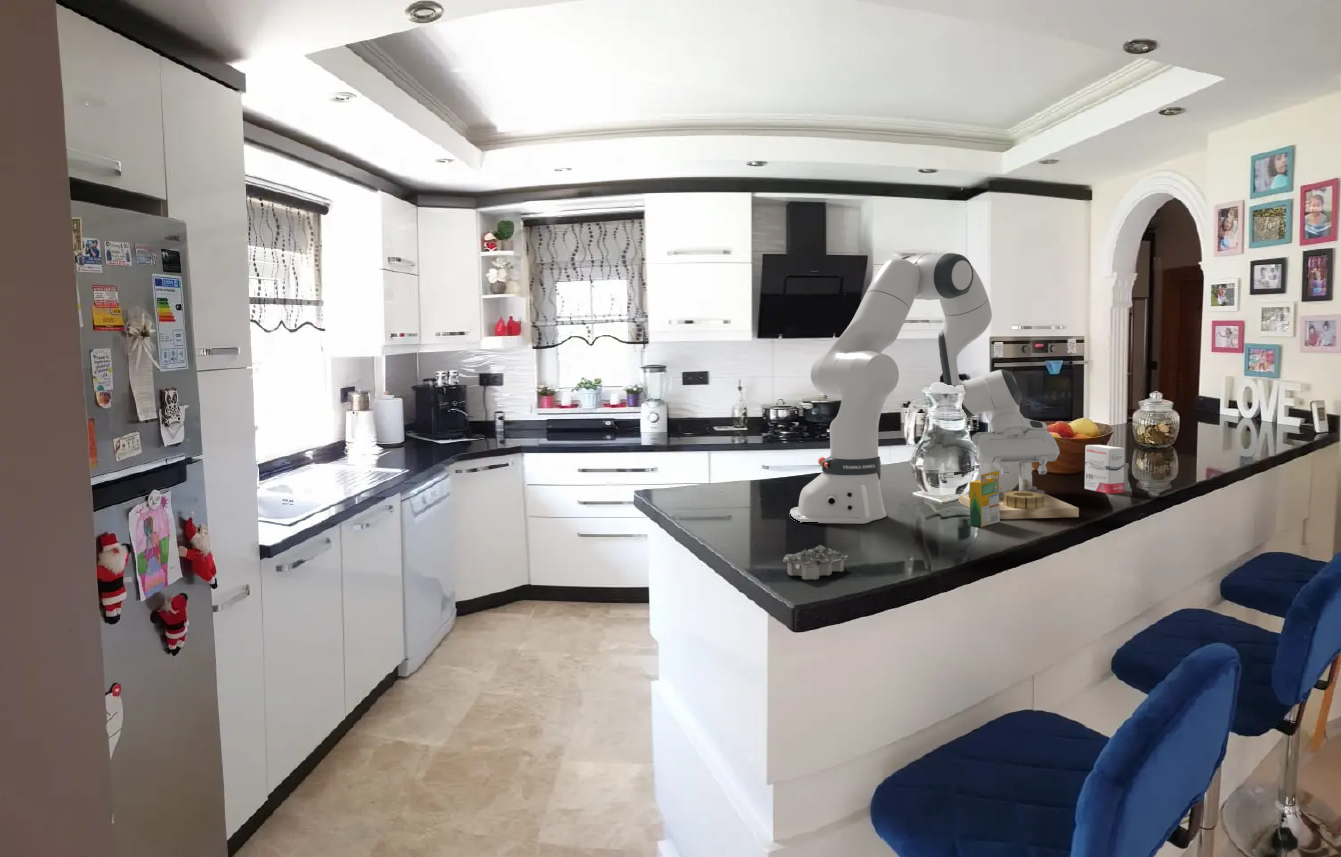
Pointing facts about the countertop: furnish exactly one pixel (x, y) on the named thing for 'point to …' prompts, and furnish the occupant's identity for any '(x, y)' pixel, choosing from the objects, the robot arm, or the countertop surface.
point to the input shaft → (1025, 475)
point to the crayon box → (984, 500)
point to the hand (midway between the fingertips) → (1024, 473)
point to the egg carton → (814, 562)
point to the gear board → (1033, 513)
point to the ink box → (1104, 469)
